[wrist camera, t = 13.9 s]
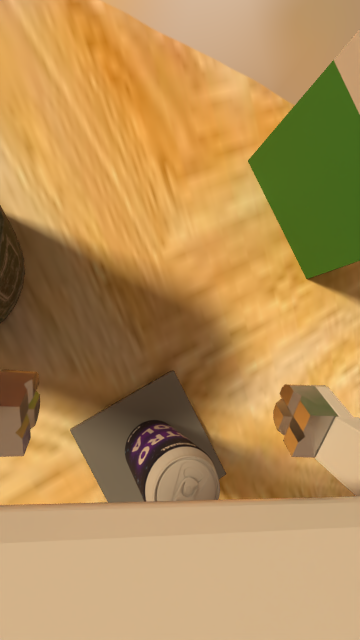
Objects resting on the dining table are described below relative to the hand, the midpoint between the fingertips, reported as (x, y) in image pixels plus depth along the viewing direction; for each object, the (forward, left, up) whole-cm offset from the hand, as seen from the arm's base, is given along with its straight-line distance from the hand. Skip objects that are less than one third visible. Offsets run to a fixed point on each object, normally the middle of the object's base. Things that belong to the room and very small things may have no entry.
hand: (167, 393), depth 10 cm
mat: (0, -10, -24) cm, 26 cm away
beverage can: (0, -9, -24) cm, 25 cm away
